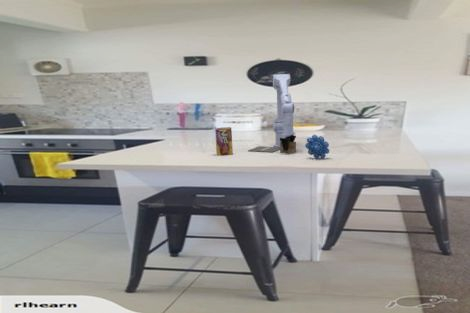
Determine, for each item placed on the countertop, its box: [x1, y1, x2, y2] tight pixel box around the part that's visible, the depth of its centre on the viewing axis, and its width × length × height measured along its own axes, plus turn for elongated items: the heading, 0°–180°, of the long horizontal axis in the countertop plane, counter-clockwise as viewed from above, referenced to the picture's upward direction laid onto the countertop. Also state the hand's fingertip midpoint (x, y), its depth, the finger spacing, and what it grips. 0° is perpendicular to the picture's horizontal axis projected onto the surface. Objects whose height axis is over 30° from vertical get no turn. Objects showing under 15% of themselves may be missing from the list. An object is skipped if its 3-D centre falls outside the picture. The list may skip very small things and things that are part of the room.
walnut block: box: [279, 141, 297, 154], centre depth 185 cm, size 4×8×6 cm, turn 61°
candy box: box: [214, 126, 234, 156], centre depth 187 cm, size 9×4×15 cm, turn 101°
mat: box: [247, 145, 280, 154], centre depth 198 cm, size 16×16×1 cm
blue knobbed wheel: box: [304, 134, 330, 160], centre depth 164 cm, size 12×7×12 cm, turn 73°
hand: (288, 149), depth 185 cm, fingers open, 7 cm apart
